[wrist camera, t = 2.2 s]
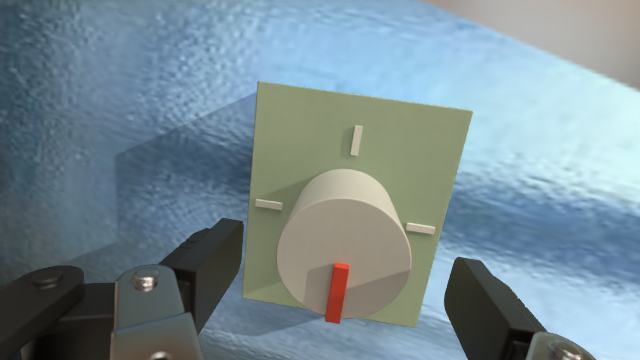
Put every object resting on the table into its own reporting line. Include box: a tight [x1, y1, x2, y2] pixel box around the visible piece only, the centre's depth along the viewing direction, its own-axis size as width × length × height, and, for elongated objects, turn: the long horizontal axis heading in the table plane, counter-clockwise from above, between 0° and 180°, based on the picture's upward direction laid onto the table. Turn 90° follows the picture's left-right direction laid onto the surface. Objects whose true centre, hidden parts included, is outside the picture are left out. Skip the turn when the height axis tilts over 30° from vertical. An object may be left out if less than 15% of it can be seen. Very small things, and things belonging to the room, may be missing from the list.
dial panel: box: [242, 81, 473, 328], centre depth 17 cm, size 12×10×3 cm
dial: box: [276, 169, 411, 324], centre depth 13 cm, size 5×5×5 cm
